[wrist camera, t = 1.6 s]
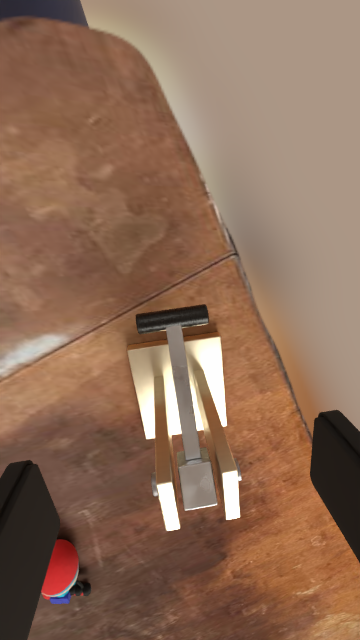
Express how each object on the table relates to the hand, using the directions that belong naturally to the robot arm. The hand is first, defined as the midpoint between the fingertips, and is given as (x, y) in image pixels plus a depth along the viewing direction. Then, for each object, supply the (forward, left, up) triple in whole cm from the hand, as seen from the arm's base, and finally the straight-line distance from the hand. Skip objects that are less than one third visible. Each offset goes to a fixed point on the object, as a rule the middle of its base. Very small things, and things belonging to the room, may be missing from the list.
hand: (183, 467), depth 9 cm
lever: (+5, +1, -10) cm, 11 cm away
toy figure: (+34, -18, -18) cm, 43 cm away
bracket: (+9, +1, -18) cm, 20 cm away
